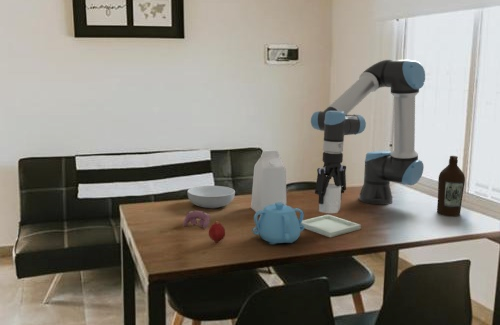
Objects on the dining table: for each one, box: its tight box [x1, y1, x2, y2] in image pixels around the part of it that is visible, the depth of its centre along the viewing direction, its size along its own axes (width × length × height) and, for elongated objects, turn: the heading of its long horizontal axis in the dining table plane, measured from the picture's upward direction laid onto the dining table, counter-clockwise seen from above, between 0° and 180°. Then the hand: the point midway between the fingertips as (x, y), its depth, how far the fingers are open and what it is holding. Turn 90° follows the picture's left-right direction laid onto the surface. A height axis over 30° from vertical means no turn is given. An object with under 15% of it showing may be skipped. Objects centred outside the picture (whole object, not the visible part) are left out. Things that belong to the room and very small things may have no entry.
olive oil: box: [436, 155, 466, 217], centre depth 232 cm, size 11×11×25 cm
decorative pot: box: [252, 202, 305, 245], centre depth 194 cm, size 16×16×14 cm
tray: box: [300, 213, 362, 238], centre depth 210 cm, size 17×17×2 cm
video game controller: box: [182, 210, 211, 230], centre depth 209 cm, size 10×5×7 cm, turn 72°
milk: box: [250, 149, 287, 216], centre depth 230 cm, size 12×12×26 cm
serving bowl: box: [186, 185, 236, 209], centre depth 238 cm, size 21×21×7 cm
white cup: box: [324, 183, 341, 214], centre depth 208 cm, size 8×8×10 cm
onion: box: [208, 220, 226, 244], centre depth 190 cm, size 6×6×8 cm
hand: (329, 210), depth 209 cm, fingers closed on white cup, 8 cm apart
